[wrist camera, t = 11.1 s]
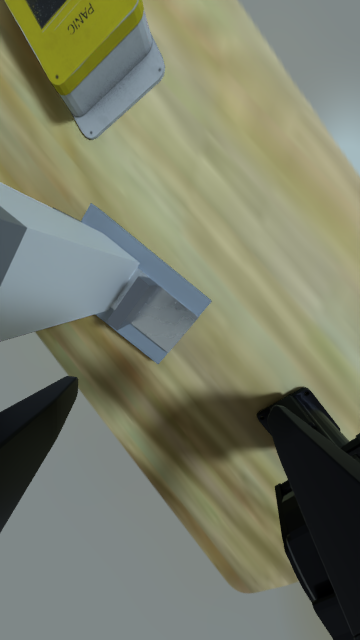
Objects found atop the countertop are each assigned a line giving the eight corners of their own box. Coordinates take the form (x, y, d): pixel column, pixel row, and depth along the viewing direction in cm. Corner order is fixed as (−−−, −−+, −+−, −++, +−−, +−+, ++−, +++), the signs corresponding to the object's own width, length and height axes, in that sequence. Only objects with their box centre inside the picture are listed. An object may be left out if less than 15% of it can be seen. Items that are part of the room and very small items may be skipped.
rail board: (210, 299, 19) (211, 301, 17) (161, 358, 21) (158, 364, 20) (99, 209, 18) (91, 202, 17) (60, 278, 21) (49, 278, 19)
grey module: (139, 263, 17) (-14, 214, 5) (108, 310, 19) (-72, 362, 6) (102, 232, 17) (-152, 105, 5) (73, 282, 18) (-179, 281, 6)
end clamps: (158, 285, 17) (149, 285, 14) (130, 323, 19) (117, 330, 16) (78, 220, 17) (53, 207, 14) (55, 263, 18) (27, 259, 15)
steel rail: (198, 316, 18) (198, 317, 17) (168, 351, 19) (168, 352, 19) (81, 221, 17) (78, 220, 17) (58, 263, 19) (55, 262, 18)
